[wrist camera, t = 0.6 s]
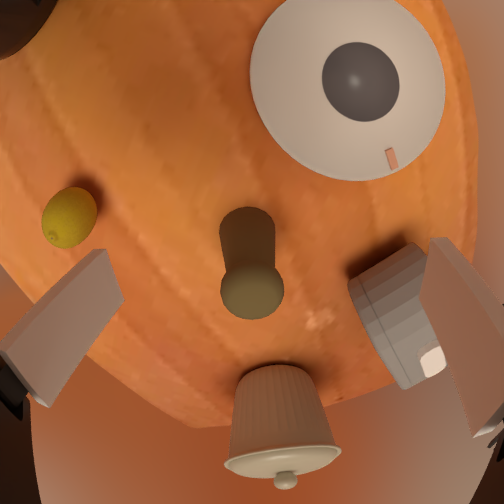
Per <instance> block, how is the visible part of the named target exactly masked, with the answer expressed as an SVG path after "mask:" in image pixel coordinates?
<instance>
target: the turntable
mask: <svg viewBox="0 0 504 504" xmlns="http://www.w3.org/2000/svg"><path fill="white" fill-rule="evenodd" d="M249 74H250V87H251V92H252V97H253V100H254V103H255V106H256V109H257V111H258V113H259V115H260V117H261V119H262V121H263V123H264V125H265V126H266V128H267V129H268V131H269V132H270V134H271V136H272V137H273V138H274V140H275V141H276V142H277V143H278V144H279V145H280V147H281V148H282V149H283V150H284V151H285V152H287V153H288V154H289V155H290V156H291V157H292V158H293V159H295V160H296V161H298V162H299V163H300V164H302V165H303V166H305V167H307V168H309V169H311V170H312V171H314V172H317V173H319V174H322V175H324V176H327V177H331V178H335V179H340V180H348V181H365V180H373V179H377V178H381V177H385V176H387V175H390V174H392V173H395V172H397V171H398V170H400V169H402V168H404V167H405V166H407V165H408V164H410V163H411V162H412V161H414V160H415V159H416V158H417V157H418V156H419V155H420V154H421V153H422V152H423V151H424V149H425V148H426V147H427V146H428V144H429V143H430V141H431V140H432V138H433V136H434V135H435V133H436V130H437V128H438V126H439V124H440V120H441V117H442V114H443V109H444V104H445V78H444V72H443V67H442V63H441V60H440V57H439V54H438V52H437V49H436V47H435V45H434V43H433V41H432V40H431V38H430V36H429V34H428V33H427V31H426V30H425V29H424V27H423V26H422V25H421V23H420V22H419V21H418V20H417V19H416V18H415V17H414V16H413V15H412V14H411V13H410V12H409V11H408V10H406V9H405V8H404V7H403V6H402V5H400V4H399V3H397V2H396V1H394V0H287V1H285V2H284V3H283V4H282V5H280V6H279V7H278V8H277V9H276V10H275V11H274V12H273V13H272V14H271V16H270V17H269V18H268V19H267V21H266V22H265V24H264V26H263V27H262V29H261V30H260V32H259V34H258V36H257V39H256V41H255V43H254V46H253V50H252V54H251V59H250V69H249Z"/></svg>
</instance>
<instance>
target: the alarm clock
mask: <svg viewBox="0 0 504 504" xmlns="http://www.w3.org/2000/svg"><path fill="white" fill-rule="evenodd" d="M426 262H427V256H426V254H425V253H424V252H423V251H422V250H421V249H420V248H419V247H418V246H417V245H416V244H415V243H412V242H411V243H409V244H408V245H406V246H405V247H403V248H402V249H400V250H399V251H397V252H395V253H394V254H392V255H391V256H389V257H387V258H386V259H384V260H383V261H381V262H379V263H378V264H376V265H374V266H373V267H371V268H370V269H368V270H366V271H365V272H363V273H361V274H360V275H358V276H356V277H355V278H353V279H351V280H350V281H349V282H348V285H347V286H348V290H349V293H350V296H351V299H352V301H353V303H354V306H355V308H356V310H357V313H358V315H359V317H360V319H361V321H362V324H363V326H364V328H365V330H366V332H367V334H368V336H369V338H370V340H371V342H372V344H373V346H374V348H375V350H376V351H377V353H378V355H379V356H380V358H381V359H382V361H383V363H384V364H385V366H386V367H387V369H388V370H389V372H390V373H391V375H392V376H393V378H394V379H395V381H396V382H397V384H398V385H399V386H400V387H401V389H403V390H405V389H408V388H410V387H412V385H415V384H417V383H419V382H421V381H423V380H425V379H426V378H428V377H431V376H433V375H435V374H437V373H438V372H440V371H441V370H442V369H444V368H445V367H446V366H448V363H447V361H446V358H445V356H444V353H443V351H442V349H441V346H440V344H439V342H438V339H437V337H436V335H435V332H434V330H433V328H432V326H431V324H430V321H429V319H428V317H427V315H426V313H425V311H424V309H423V307H422V304H421V302H420V300H419V294H420V290H421V286H422V281H423V277H424V272H425V267H426Z"/></svg>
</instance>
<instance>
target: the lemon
mask: <svg viewBox="0 0 504 504" xmlns="http://www.w3.org/2000/svg"><path fill="white" fill-rule="evenodd" d="M96 218H97V206H96V202H95V200H94V198H93V197H92V195H91V194H90V193H89V192H87V191H86V190H84V189H82V188H79V187H69V188H66V189H63V190H61V191H59V192H58V193H57V194H56V195H54V196H53V197H52V198H51V199H50V201H49V202H48V204H47V206H46V208H45V209H44V212H43V215H42V230H43V233H44V235H45V237H46V239H47V240H48V241H49V242H50V243H51V244H52V245H54V246H56V247H58V248H63V249H66V248H72V247H74V246H76V245H78V244H80V243H81V242H82V241H83V240H84V239H85V238H86V237H87V236H88V235H89V234H90V233H91V231H92V229H93V227H94V225H95V223H96Z"/></svg>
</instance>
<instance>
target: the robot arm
mask: <svg viewBox="0 0 504 504" xmlns="http://www.w3.org/2000/svg"><path fill="white" fill-rule="evenodd" d="M56 1H57V0H0V60H2V59H5V58H7V57H9V56H11V55H13V54H14V53H16V52H17V51H18V50H20V49H21V48H22V47H23V46H24V45H25V44H27V43H28V42H29V41H30V39H31V38H32V37H33V36H34V35H35V34H36V33H37V31H38V30H39V29H40V28H41V26H42V25H43V23H44V22H45V21H46V19H47V18H48V16H49V14H50V13H51V11H52V9H53V7H54V5H55V3H56ZM419 300H420V302H421V304H422V307H423V309H424V311H425V313H426V315H427V317H428V319H429V321H430V324H431V326H432V328H433V330H434V332H435V335H436V337H437V339H438V342H439V344H440V346H441V349H442V351H443V353H444V356H445V358H446V361H447V363H448V366H449V369H450V371H451V374H452V376H453V379H454V382H455V385H456V387H457V390H458V393H459V396H460V399H461V402H462V405H463V408H464V411H465V414H466V417H467V421H468V424H469V428H470V431H471V435H472V438H474V437H476V436H479V435H482V434H485V433H488V432H490V431H493V429H494V428H495V427H496V426H497V425H498V424H499V423H500V422H501V421H502V420H503V422H504V304H501V302H500V301H499V299H498V298H497V297H496V295H495V294H494V293H493V291H492V290H491V289H490V287H489V286H488V285H487V284H486V282H485V281H484V280H483V278H482V277H481V276H480V275H479V274H478V273H477V271H476V270H475V269H474V267H473V266H472V265H471V264H470V263H469V261H468V260H467V259H466V258H465V257H464V256H463V255H462V253H461V252H460V251H459V250H458V249H457V248H456V247H455V246H454V244H453V243H452V242H451V241H450V240H449V239H448V238H431V239H430V245H429V251H428V256H427V262H426V267H425V272H424V277H423V281H422V286H421V290H420V294H419ZM124 301H125V300H124V298H123V295H122V292H121V290H120V287H119V285H118V282H117V279H116V276H115V274H114V271H113V268H112V265H111V262H110V259H109V256H108V253H107V250H106V249H93V250H92V251H91V252H90V253H89V254H88V255H87V256H85V257H84V258H83V259H82V260H81V261H80V262H79V263H78V264H76V265H75V266H74V267H73V268H72V269H71V270H70V271H69V272H68V273H67V274H65V275H64V276H63V277H62V278H61V279H60V280H59V281H58V282H57V283H56V284H55V285H54V286H53V287H52V288H51V289H50V290H49V291H48V292H47V293H46V294H45V295H44V296H43V297H42V298H41V299H40V300H39V301H38V302H37V303H36V304H35V305H34V306H33V307H32V308H31V309H30V310H29V311H28V312H27V313H26V314H25V315H24V316H23V317H22V318H21V319H20V320H19V321H18V323H17V324H16V325H15V326H14V327H13V328H12V329H11V330H10V331H9V332H8V333H7V335H6V336H5V337H4V338H3V339H2V340H1V342H0V504H41V500H40V495H39V490H38V484H37V478H36V472H35V465H34V457H33V448H32V437H31V436H32V435H31V421H30V420H31V418H30V401H29V400H28V398H27V397H26V395H27V393H28V392H29V393H30V394H31V395H32V397H33V398H34V399H35V400H36V401H37V402H38V403H40V404H42V405H44V406H46V407H48V408H50V407H51V405H52V404H53V402H54V401H55V399H56V397H57V396H58V394H59V393H60V391H61V390H62V388H63V387H64V385H65V384H66V382H67V381H68V379H69V377H70V376H71V374H72V373H73V372H74V370H75V369H76V367H77V365H78V364H79V363H80V361H81V360H82V358H83V357H84V355H85V354H86V353H87V351H88V350H89V348H90V347H91V345H92V344H93V343H94V341H95V340H96V338H97V337H98V336H99V334H100V333H101V331H102V330H103V329H104V327H105V326H106V325H107V323H108V322H109V321H110V319H111V318H112V317H113V315H114V314H115V312H116V311H117V310H118V308H119V307H120V306H121V305H122V303H123V302H124ZM496 442H497V444H496V447H495V448H494V452H493V454H492V457H491V459H490V462H489V464H488V466H487V469H486V471H485V473H484V475H483V478H482V480H481V482H480V484H479V486H478V488H477V490H476V492H475V494H474V496H473V498H472V500H471V501H470V503H469V504H504V429H503V430H502V431H501V432H500V433H499V434H498V435H497V436H496V437H495V438H494V439H493V440H492V441H491V442H490V443H489V445H488V448H491V447H492V446H493V445H494V444H495V443H496Z"/></svg>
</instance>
